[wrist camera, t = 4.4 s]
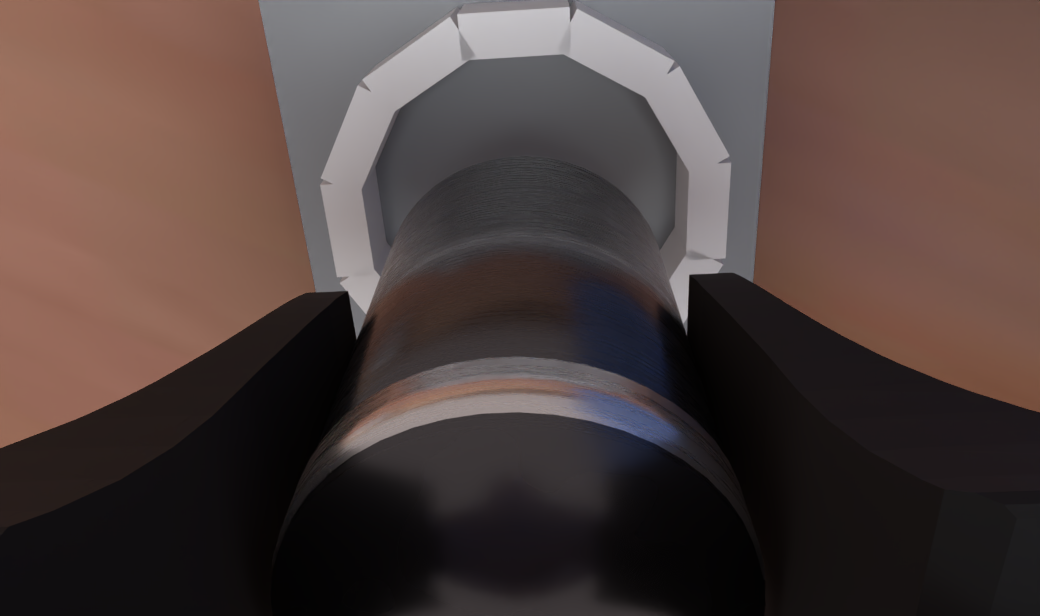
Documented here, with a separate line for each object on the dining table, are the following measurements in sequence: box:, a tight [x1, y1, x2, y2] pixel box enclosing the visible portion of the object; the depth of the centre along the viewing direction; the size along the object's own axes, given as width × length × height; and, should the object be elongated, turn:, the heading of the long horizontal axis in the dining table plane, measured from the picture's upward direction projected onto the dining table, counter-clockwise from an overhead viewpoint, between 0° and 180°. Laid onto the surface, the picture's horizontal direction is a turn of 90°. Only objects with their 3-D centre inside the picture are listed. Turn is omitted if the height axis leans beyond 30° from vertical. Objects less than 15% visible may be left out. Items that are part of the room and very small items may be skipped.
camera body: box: [258, 0, 775, 338], centre depth 18 cm, size 10×13×4 cm
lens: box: [270, 156, 766, 616], centre depth 11 cm, size 5×5×7 cm
